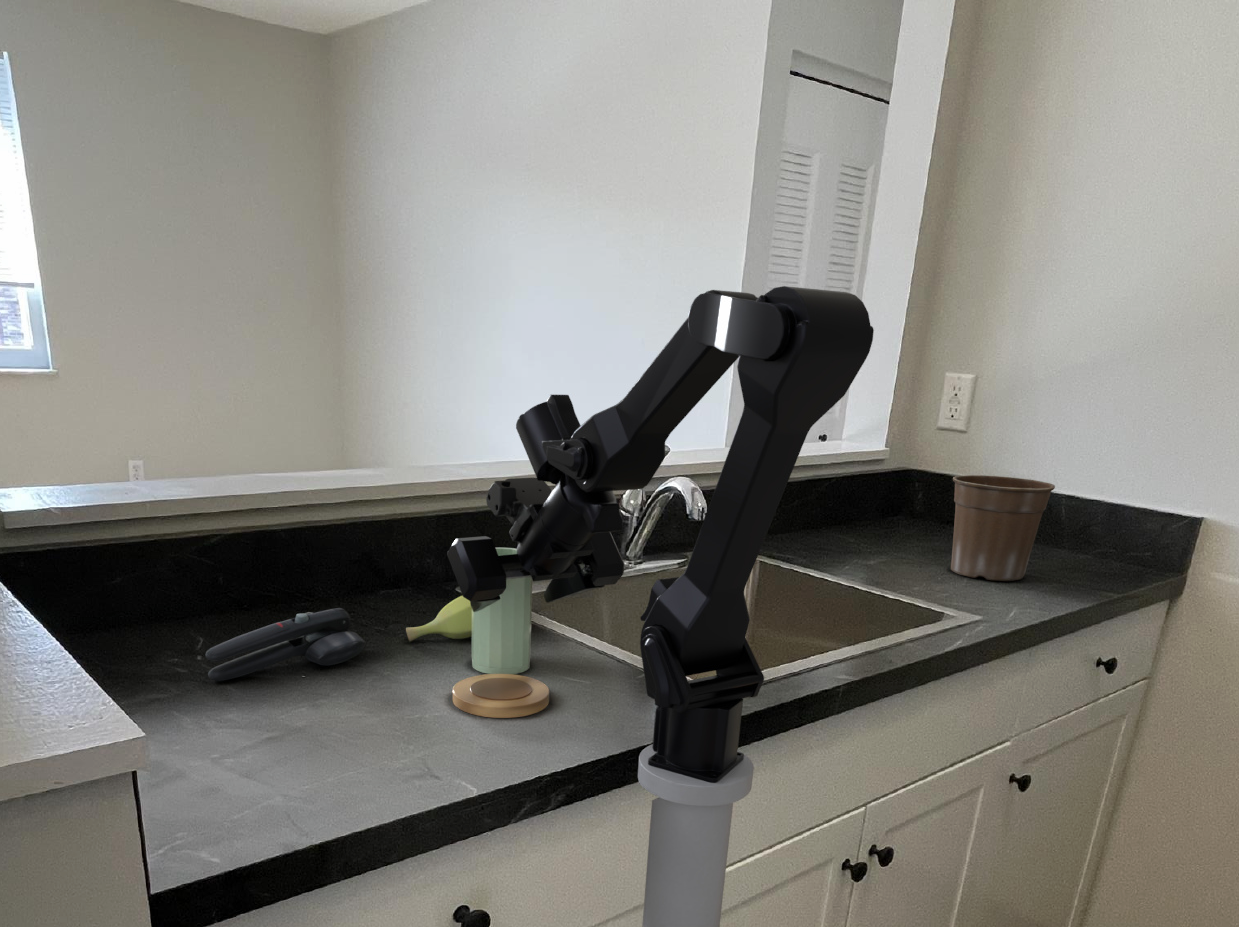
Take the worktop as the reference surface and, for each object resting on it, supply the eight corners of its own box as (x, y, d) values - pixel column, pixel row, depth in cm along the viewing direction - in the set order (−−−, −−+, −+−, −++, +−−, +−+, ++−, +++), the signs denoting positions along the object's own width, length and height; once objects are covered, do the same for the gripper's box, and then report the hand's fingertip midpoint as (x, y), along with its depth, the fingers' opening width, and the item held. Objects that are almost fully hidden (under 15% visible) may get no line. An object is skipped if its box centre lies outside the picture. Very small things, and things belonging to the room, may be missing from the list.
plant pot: (917, 565, 174) (933, 474, 169) (984, 561, 181) (1001, 473, 175) (986, 588, 161) (1005, 489, 155) (1055, 582, 167) (1076, 487, 162)
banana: (540, 565, 127) (429, 612, 113) (551, 605, 129) (442, 656, 115) (470, 573, 136) (358, 617, 122) (480, 610, 138) (372, 658, 124)
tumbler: (524, 677, 109) (527, 562, 104) (466, 672, 109) (466, 558, 104) (534, 658, 115) (537, 549, 110) (478, 654, 115) (479, 545, 111)
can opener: (339, 644, 116) (337, 598, 114) (372, 659, 112) (370, 611, 110) (192, 673, 104) (187, 623, 102) (222, 692, 100) (217, 639, 98)
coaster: (567, 697, 103) (567, 685, 103) (512, 726, 95) (513, 713, 95) (490, 677, 108) (490, 666, 107) (432, 703, 100) (432, 691, 99)
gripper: (615, 452, 103) (556, 536, 115) (455, 456, 93) (409, 548, 105) (655, 540, 100) (590, 617, 112) (494, 555, 89) (442, 638, 102)
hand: (510, 603), depth 108 cm, fingers open, 9 cm apart
